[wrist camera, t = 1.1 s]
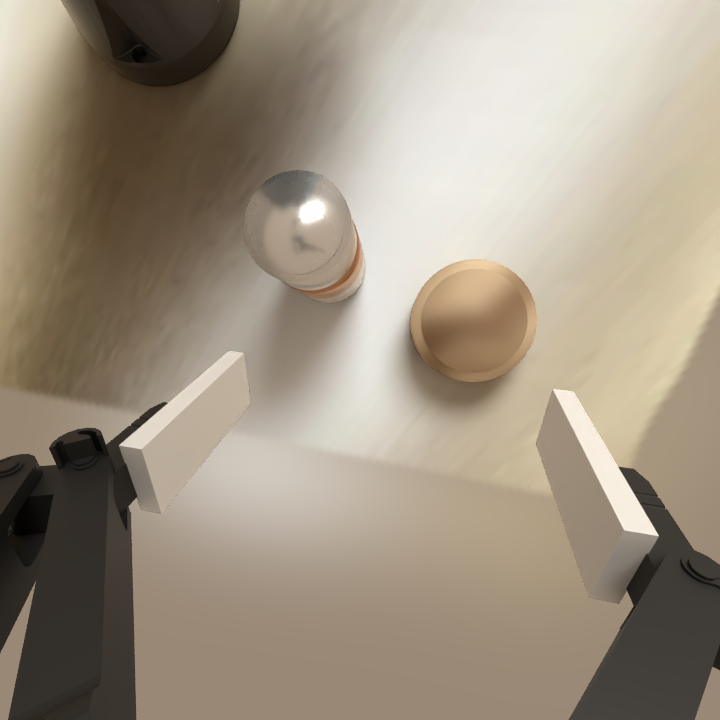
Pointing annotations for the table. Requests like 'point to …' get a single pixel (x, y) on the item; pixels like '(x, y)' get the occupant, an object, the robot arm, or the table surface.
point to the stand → (473, 320)
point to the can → (305, 236)
